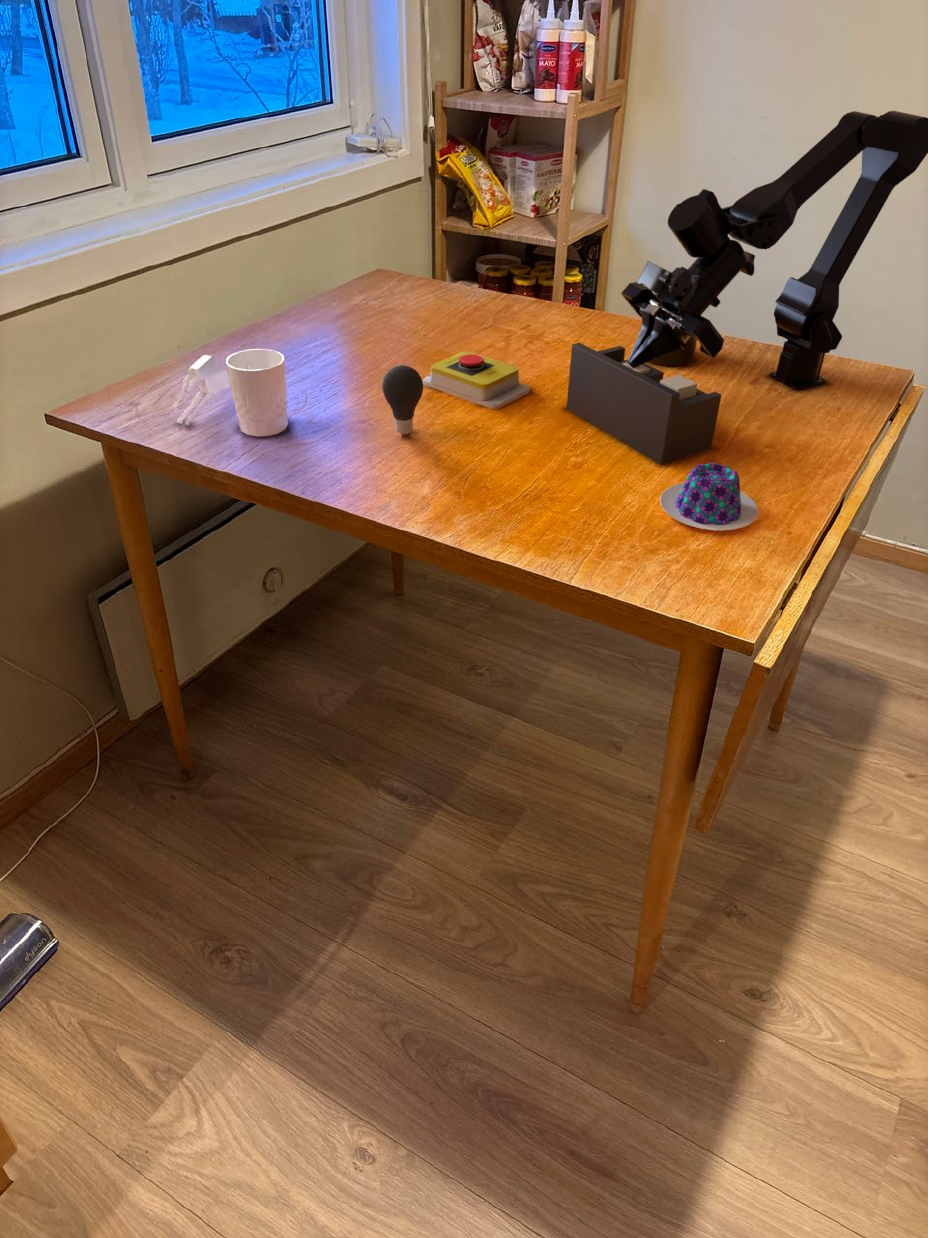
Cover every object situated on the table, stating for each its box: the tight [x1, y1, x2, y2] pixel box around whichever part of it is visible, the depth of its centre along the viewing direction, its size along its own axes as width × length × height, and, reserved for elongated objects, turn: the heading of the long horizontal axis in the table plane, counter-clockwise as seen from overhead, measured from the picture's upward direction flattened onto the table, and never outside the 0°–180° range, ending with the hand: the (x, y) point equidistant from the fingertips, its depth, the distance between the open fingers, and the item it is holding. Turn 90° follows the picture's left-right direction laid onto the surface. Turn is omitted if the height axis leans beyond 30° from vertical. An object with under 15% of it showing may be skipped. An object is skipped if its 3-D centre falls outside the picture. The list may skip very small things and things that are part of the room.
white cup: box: [225, 348, 289, 437], centre depth 129 cm, size 8×8×10 cm
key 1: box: [622, 362, 650, 374], centre depth 134 cm, size 4×4×2 cm
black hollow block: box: [565, 342, 722, 466], centre depth 130 cm, size 9×21×10 cm, turn 33°
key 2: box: [660, 374, 698, 400], centre depth 127 cm, size 4×4×2 cm
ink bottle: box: [648, 294, 698, 367], centre depth 152 cm, size 10×9×12 cm
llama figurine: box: [169, 354, 231, 426], centre depth 136 cm, size 2×11×18 cm
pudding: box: [659, 462, 759, 531], centre depth 113 cm, size 12×12×5 cm
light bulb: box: [381, 364, 424, 437], centre depth 128 cm, size 6×6×10 cm
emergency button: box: [422, 350, 531, 410], centre depth 143 cm, size 9×4×15 cm
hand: (630, 365), depth 133 cm, fingers closed, pressing on key 1
